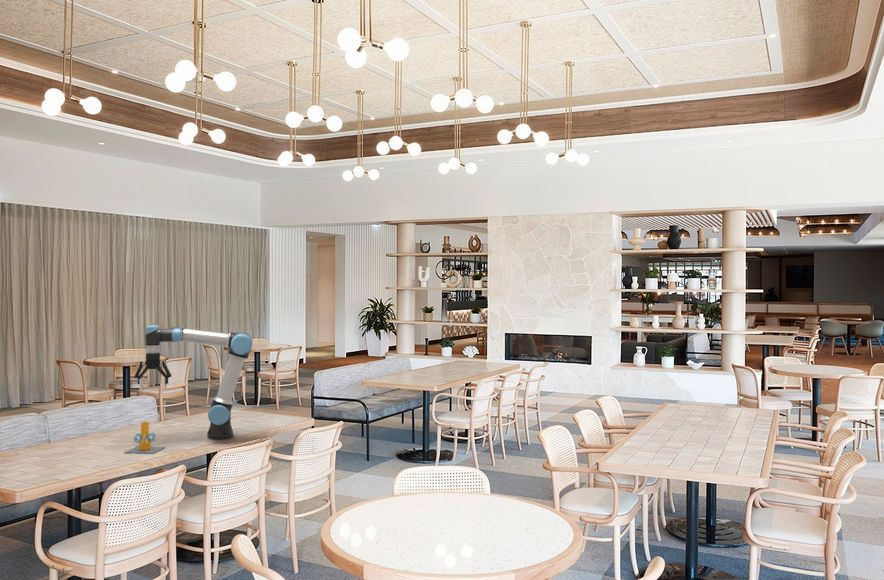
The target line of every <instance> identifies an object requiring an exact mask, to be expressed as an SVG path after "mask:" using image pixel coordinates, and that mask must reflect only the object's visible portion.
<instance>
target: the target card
mask: <svg viewBox="0 0 884 580" xmlns="http://www.w3.org/2000/svg"><path fill="white" fill-rule="evenodd" d="M165 448H166V447H165V446H151V449H150V450H145V451H141V450H139V445H137V446H135V447H132V448H131V449H128V450H126V451H124V454H131V453H135V454H137V455H138V454H139V455H143V454H144V455H154V453H155V454H157V453H158V452H160V451H162V450H164V449H165Z"/></svg>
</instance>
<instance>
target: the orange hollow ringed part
mask: <svg viewBox="0 0 884 580" xmlns="http://www.w3.org/2000/svg"><path fill="white" fill-rule="evenodd" d="M150 436H151V438H150ZM138 437H139V439H138ZM155 439H156V433H154V432H152V431H151V432H150V422H149V420H148V421H141V422H140V433H136V434H135V436H134V438H133V440H134V441H133V442H134V443H137V444H138V446H139V450H141V451H145V450H150V449H151V447H152V445H151V443H152V442H154V441H155Z"/></svg>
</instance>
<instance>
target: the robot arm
mask: <svg viewBox="0 0 884 580" xmlns="http://www.w3.org/2000/svg"><path fill="white" fill-rule="evenodd" d="M144 335H145V336H144V337H145V361H143V360H140V361H139V366H138V367H137V370H136V372H135V374H134V376H133V377H134V378H135V379H137V385H139V391H143V390H144V384H143V383H144V379H143V376H144V375H145V374H146V372H147V371H148V370H157V371H158V372H159V373H160V374H161V376H163V391H167V390H168V389H167V387H168V386H167V385H169V378H171V377H172V373H171V372H170V370H169V368H168V365H167V362H166V360H163V361H161V353H160V352H161V343H177V342H178V343H179V342H188V343H197V344H204V345H205V344H206V345H213V346H222V347H226V348H227V349H228V352H227V355H228V356H229V357H228V360H227V364H226V367H225V370H224V372H223V373H224V374H223V376H222V379H221V381H220V385H219V389H218V390H217V391H218V392H217V395H216V396H215V397H213V398H212V399H210V403H209V405H210V408H209V410H208V412H207V417H208V420H209V423H210V424H209V427H208V431H207V434H206V438H207V439H208V440H209V439H210V440H226V439H225V438H228V439H231V438H230V437H232V438H233V437H234V430H233V427H232V425H231V424H232V423H231V421H232V420H231V418H232V417H231V415H232V414H231V413H232V412H231V411H232V408H233V406H234V402H233V401H232V399H233V397H234V394H235V390H236V386H237V384H238V381H239V378H240V374H241V372H242V368H243V365H244V363H245V361H246V360H248V358H249V355H250V353H251V350H252V347H253V339H252V337H251V335H250V334H249V333H246V332H231V331H229V332H228V333H226V332H217V331H216V332H215V331H208V330H199V329H193V328H192V329H191V328H181V327H177V326H172V327H171V328H161V327H160V325H157V324H155V325H152V324H151V325H147V326H146V327H145V333H144ZM160 365H161V366H160ZM144 366H145V367H144ZM142 369H143V370H142Z"/></svg>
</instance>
